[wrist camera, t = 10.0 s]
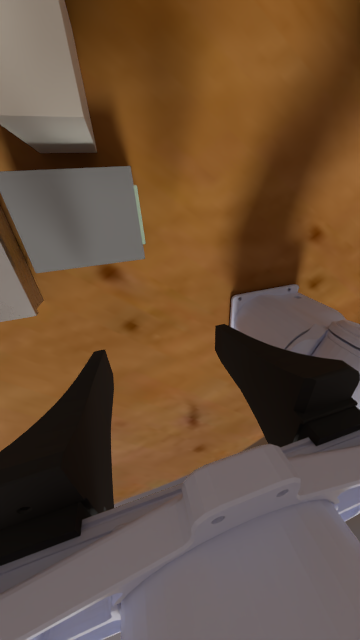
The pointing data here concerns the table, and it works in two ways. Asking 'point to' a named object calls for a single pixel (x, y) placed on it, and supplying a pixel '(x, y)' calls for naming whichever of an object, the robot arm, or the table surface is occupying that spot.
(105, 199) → the mounted modules
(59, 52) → the block
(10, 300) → the din rail
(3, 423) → the table surface
